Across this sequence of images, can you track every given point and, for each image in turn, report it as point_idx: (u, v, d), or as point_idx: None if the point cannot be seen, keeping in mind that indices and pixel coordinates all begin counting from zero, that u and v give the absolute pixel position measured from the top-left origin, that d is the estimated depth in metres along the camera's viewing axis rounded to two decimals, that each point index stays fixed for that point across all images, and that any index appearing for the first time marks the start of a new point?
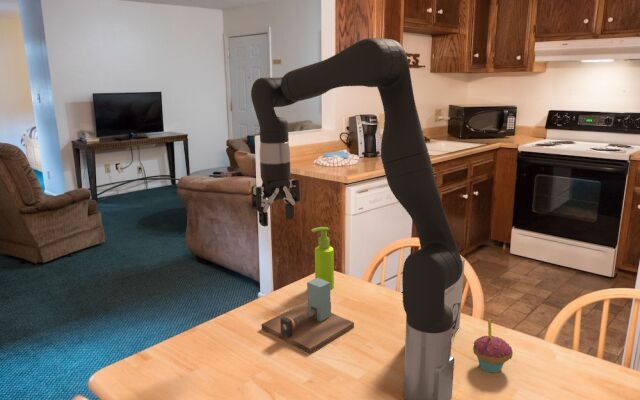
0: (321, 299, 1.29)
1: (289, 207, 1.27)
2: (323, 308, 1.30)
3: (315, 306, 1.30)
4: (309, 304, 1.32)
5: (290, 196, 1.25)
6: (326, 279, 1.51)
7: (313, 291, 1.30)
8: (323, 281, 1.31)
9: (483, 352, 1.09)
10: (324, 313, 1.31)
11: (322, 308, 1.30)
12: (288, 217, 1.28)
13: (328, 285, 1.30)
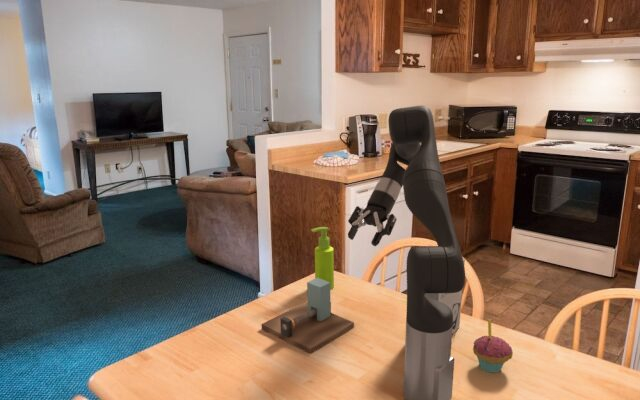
0: (321, 299, 1.29)
1: None
2: (323, 308, 1.30)
3: (315, 306, 1.30)
4: (309, 304, 1.32)
5: (377, 222, 1.42)
6: (326, 279, 1.51)
7: (313, 291, 1.30)
8: (323, 281, 1.31)
9: (483, 352, 1.09)
10: (324, 313, 1.31)
11: (322, 308, 1.30)
12: None
13: (328, 285, 1.30)
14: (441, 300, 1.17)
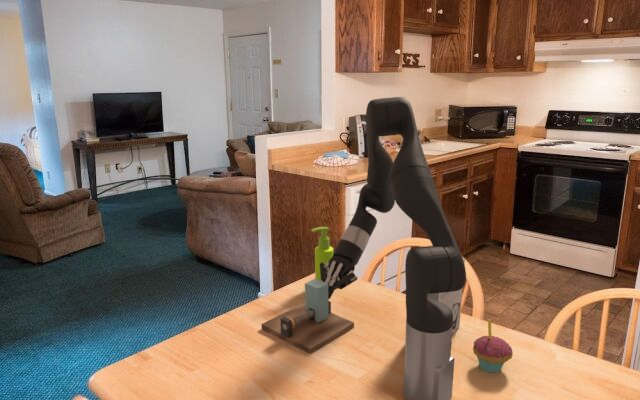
0: (319, 300, 1.28)
1: None
2: (321, 309, 1.30)
3: (313, 307, 1.30)
4: (307, 305, 1.31)
5: (335, 275, 1.34)
6: None
7: (311, 292, 1.29)
8: (321, 282, 1.31)
9: (483, 352, 1.09)
10: (322, 314, 1.30)
11: (320, 309, 1.29)
12: None
13: (326, 286, 1.30)
14: (441, 300, 1.17)
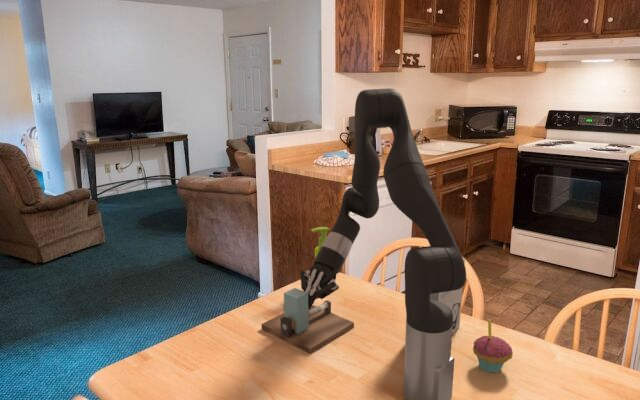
0: (298, 311, 1.23)
1: None
2: (300, 320, 1.24)
3: (292, 318, 1.24)
4: (286, 316, 1.26)
5: (315, 284, 1.28)
6: None
7: (290, 302, 1.24)
8: (301, 292, 1.25)
9: (483, 352, 1.09)
10: (302, 325, 1.25)
11: (299, 320, 1.24)
12: None
13: (306, 296, 1.24)
14: (441, 300, 1.17)
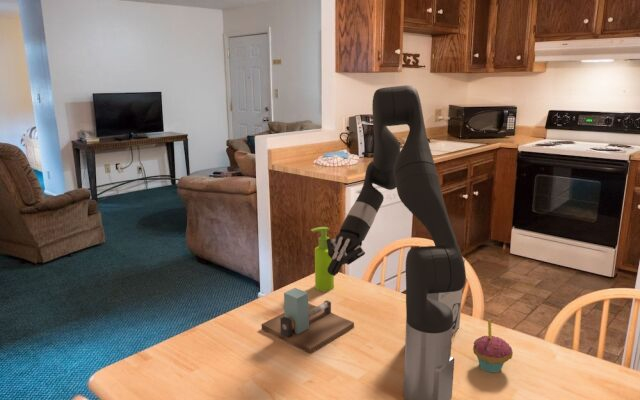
0: (298, 311, 1.23)
1: None
2: (301, 320, 1.24)
3: (292, 318, 1.24)
4: (286, 316, 1.26)
5: (342, 250, 1.34)
6: (326, 279, 1.51)
7: (290, 302, 1.24)
8: (301, 292, 1.25)
9: (483, 352, 1.09)
10: (302, 325, 1.25)
11: (299, 320, 1.24)
12: None
13: (306, 296, 1.24)
14: (441, 300, 1.17)
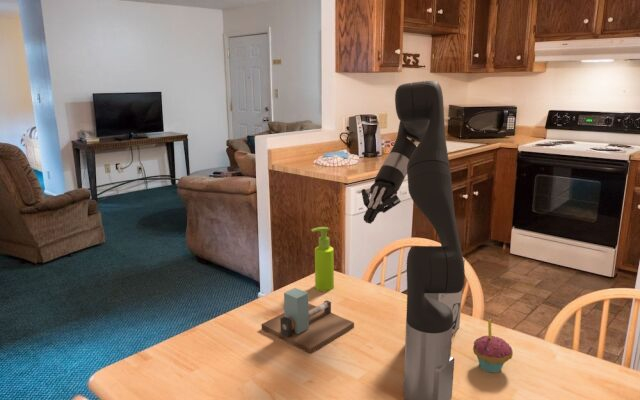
0: (298, 311, 1.23)
1: None
2: (301, 320, 1.24)
3: (292, 318, 1.24)
4: (286, 316, 1.26)
5: (378, 199, 1.36)
6: (326, 279, 1.51)
7: (290, 302, 1.24)
8: (301, 292, 1.25)
9: (483, 352, 1.09)
10: (302, 325, 1.25)
11: (299, 320, 1.24)
12: None
13: (306, 296, 1.24)
14: (441, 300, 1.17)
